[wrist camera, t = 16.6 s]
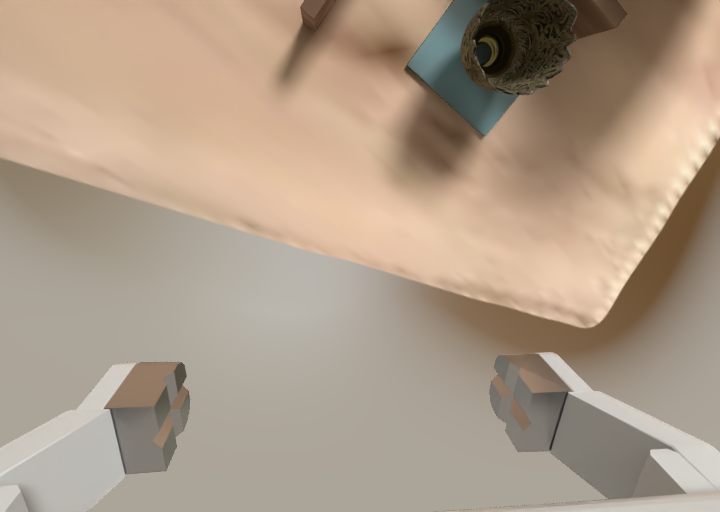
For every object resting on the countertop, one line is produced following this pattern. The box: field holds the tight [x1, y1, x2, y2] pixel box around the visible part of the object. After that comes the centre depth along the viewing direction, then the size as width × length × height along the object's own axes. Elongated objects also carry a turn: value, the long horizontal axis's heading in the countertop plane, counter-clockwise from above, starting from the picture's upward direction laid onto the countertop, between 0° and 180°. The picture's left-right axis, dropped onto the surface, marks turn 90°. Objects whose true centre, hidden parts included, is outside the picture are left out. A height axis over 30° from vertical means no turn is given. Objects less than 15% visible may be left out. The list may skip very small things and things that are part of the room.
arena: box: [300, 0, 627, 136], centre depth 31 cm, size 16×20×5 cm
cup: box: [461, 0, 578, 95], centre depth 30 cm, size 8×7×8 cm
